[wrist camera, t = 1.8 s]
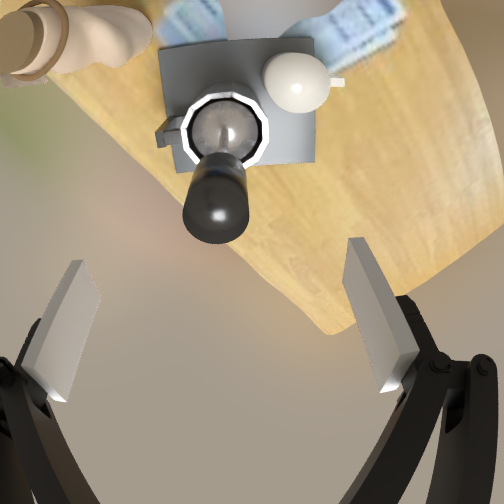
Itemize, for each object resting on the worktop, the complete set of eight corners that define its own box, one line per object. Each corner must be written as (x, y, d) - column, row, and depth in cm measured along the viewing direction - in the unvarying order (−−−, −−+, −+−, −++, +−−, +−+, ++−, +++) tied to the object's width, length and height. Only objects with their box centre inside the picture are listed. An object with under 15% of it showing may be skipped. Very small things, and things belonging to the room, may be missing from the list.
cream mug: (259, 52, 37) (265, 53, 30) (329, 52, 37) (349, 55, 30) (262, 102, 42) (268, 114, 35) (329, 100, 42) (348, 113, 35)
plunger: (189, 104, 32) (143, 167, 16) (255, 97, 32) (276, 153, 16) (197, 163, 36) (169, 268, 21) (259, 157, 36) (278, 260, 21)
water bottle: (122, 81, 39) (8, 137, 17) (85, 48, 35) (-47, 79, 12) (169, 33, 35) (83, 22, 13) (130, -1, 31) (15, -32, 9)
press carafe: (168, 88, 40) (147, 103, 30) (258, 78, 40) (265, 89, 30) (177, 148, 45) (161, 180, 36) (262, 140, 45) (269, 169, 36)
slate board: (159, 50, 37) (157, 50, 36) (312, 38, 37) (313, 38, 36) (177, 171, 49) (176, 173, 48) (313, 160, 49) (314, 162, 48)
